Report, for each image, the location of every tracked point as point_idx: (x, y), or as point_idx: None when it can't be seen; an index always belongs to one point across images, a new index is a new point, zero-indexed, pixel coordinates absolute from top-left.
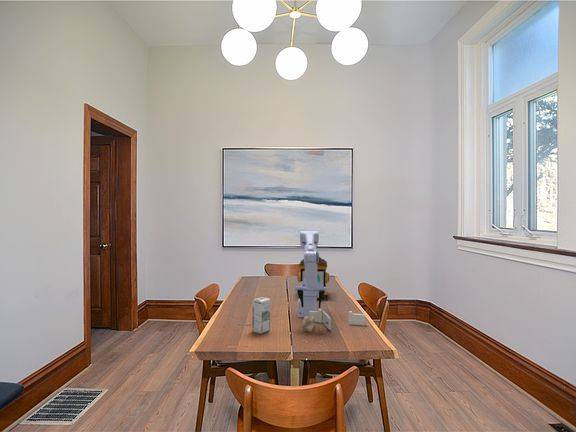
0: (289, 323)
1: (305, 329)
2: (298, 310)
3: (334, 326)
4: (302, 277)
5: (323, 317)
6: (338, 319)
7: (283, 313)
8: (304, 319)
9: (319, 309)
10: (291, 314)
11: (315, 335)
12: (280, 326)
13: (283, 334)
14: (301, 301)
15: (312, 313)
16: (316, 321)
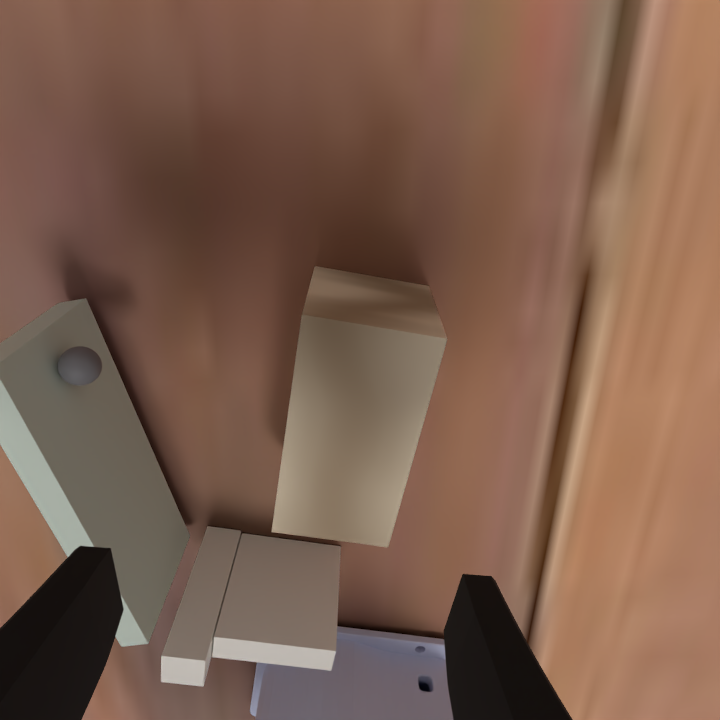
0: (555, 501)
1: (393, 287)
2: (448, 713)
3: None
4: None
5: (157, 556)
6: None
7: (569, 707)
8: (410, 419)
9: (190, 678)
10: None
11: (258, 122)
12: (677, 420)
13: (710, 149)
14: (545, 713)
15: (292, 624)
16: (258, 541)
